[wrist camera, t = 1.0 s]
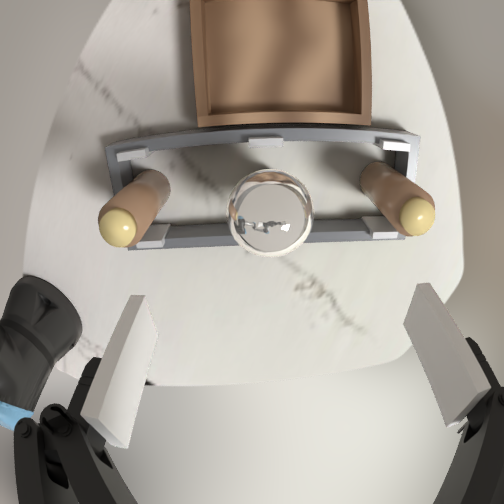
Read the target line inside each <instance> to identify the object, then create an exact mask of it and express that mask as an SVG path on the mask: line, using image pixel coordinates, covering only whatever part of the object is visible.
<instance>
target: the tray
mask: <svg viewBox="0 0 504 504" xmlns="http://www.w3.org/2000/svg"><path fill="white" fill-rule="evenodd" d="M190 21H191V41H192V57H193V72H194V86H195V99H196V111H197V122H198V127H207V126H219V125H232V124H250V123H283V122H307V123H340V124H357V125H370V126H371V107H372V69H371V41H370V25H369V13H368V2H367V0H190Z"/></svg>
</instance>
